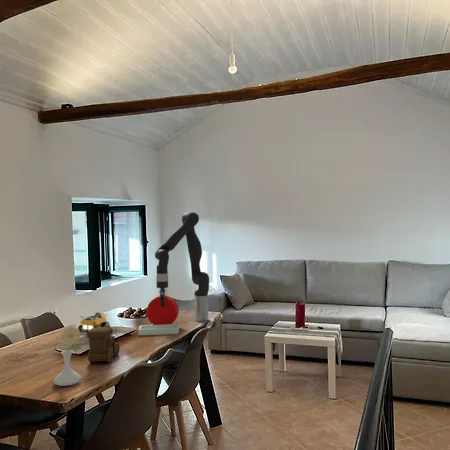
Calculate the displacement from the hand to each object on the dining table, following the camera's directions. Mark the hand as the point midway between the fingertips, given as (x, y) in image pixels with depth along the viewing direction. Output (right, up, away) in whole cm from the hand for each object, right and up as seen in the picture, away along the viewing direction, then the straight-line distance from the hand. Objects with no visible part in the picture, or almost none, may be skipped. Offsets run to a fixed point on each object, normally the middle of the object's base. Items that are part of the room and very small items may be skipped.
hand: (162, 305), depth 287 cm
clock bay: (0, -14, -14) cm, 20 cm away
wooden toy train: (-20, -16, -65) cm, 70 cm away
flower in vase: (-27, -16, -96) cm, 101 cm away
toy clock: (0, -14, 0) cm, 14 cm away
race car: (-43, -15, -6) cm, 46 cm away
